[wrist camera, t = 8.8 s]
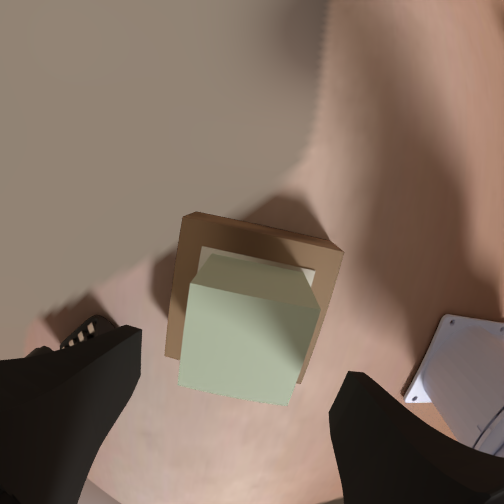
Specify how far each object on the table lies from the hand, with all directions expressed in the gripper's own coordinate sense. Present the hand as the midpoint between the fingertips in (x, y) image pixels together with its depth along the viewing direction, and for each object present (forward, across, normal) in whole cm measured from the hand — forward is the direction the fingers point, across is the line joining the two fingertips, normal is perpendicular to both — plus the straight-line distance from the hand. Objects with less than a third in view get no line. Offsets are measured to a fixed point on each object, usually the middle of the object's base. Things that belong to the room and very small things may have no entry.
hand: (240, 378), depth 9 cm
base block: (+9, 0, 0) cm, 9 cm away
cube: (+6, 0, 0) cm, 6 cm away
